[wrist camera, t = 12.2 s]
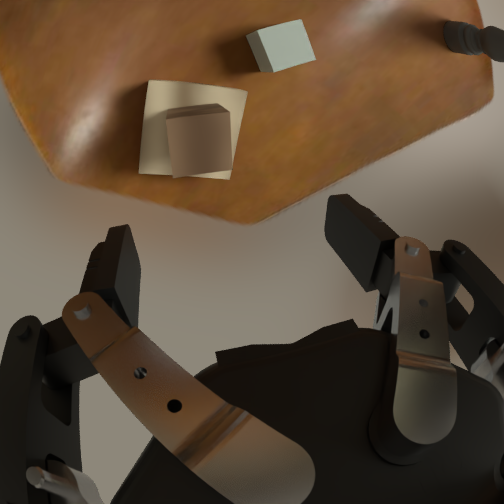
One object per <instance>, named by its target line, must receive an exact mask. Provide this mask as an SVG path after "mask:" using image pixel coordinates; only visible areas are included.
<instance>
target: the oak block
mask: <svg viewBox="0 0 504 504" xmlns="http://www.w3.org/2000/svg"><path fill="white" fill-rule="evenodd" d="M247 93H248V91H244V90H240V89H236V88H230V87H223V86H216V85H209V84H200V83H191V82H181V81H169V80H153V79H152V80H149V83H148V89H147V96H146V103H145V111H144V119H143V128H142V138H141V149H140V162H139V174H161V175H173V174H172V167H171V159H170V151H169V143H168V134H167V125H166V116H167V111H168V109H171V108H178V107H186V106H194V105H203V104H213V103H218V104H220V105H221V106H223V107H224V108H225V109H227V110H228V111H229V112H230V121H231V144H232V165H233V159H234V154H235V149H236V145H237V140H238V135H239V130H240V125H241V120H242V116H243V111H244V106H245V102H246V97H247ZM230 175H231V170H228V171H220V172H212V173H205V174H198V175H191V176H193V177H207V178H218V179H230Z"/></svg>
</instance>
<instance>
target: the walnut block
mask: <svg viewBox="0 0 504 504" xmlns="http://www.w3.org/2000/svg"><path fill="white" fill-rule="evenodd" d="M166 125H167V134H168V143H169V151H170V159H171V167H172V174H173V178H177V177H184V176H191V175H198V174H205V173H212V172H220V171H228V170H233V165H232V144H231V121H230V112H229V111H228V110H227V109H225V108H224V107H223V106H221V105H220V104H218V103H213V104H203V105H194V106H186V107H178V108H171V109H168V111H167V116H166Z"/></svg>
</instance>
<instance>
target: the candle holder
mask: <svg viewBox="0 0 504 504" xmlns="http://www.w3.org/2000/svg"><path fill="white" fill-rule="evenodd" d="M443 33H444V39H445V41H446V44H447V46H448V47H449V48H450V50H452V51H453V52H456V53H461V54H466V55H473V54H474V55H480V54H481V53H484V54H487V55H488V56H489V57H490V58H491V59H493V60H494V61H498V62H504V30H501V29H499V28H497V27H494V26H488V27H486V28H484V29H480V30H479V29H478V28H477V27H476V26H475V25H472V24H468V23H465V22H456V21H448V22H446V24H445V26H444V32H443Z"/></svg>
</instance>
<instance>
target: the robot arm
mask: <svg viewBox="0 0 504 504" xmlns="http://www.w3.org/2000/svg"><path fill="white" fill-rule="evenodd" d="M325 237H326V240H327V241H328V243H329V244H330V246H331V247H332V248H333V249H334V251H335V252H336V253H337V254H338V256H339V257H340V258H341V260H342V261H343V262H344V263H345V265H346V266H347V267H348V269H349V270H350V271H351V273H352V274H353V275H354V277H355V278H356V279H357V281H358V282H359V283H360V285H361V286H362V287H363V288H364V290H365V291H366V292H369V291H373V290H376V289H378V290H379V293H378V296H377V302H376V310H375V317H374V324H373V329H370V328H358V327H357V325H356V323H355V322H354V320H353V319H350V320H347V321H344V322H340V323H336V324H333V325H330V326H326V327H323V328H321V329H319V330H317V331H315V332H313V333H312V334H310V335H308V336H306V337H304V338H302V339H300V340H298V341H297V342H294V343H291V344H268V345H267V344H262V345H261V344H260V345H257V344H256V345H248V346H243V347H238V348H233V349H228V350H222V351H217V352H215V353H216V358H217V363H215V364H212V365H210V366H209V367H207V368H205V369H203V370H202V371H200V372H199V373H198V374H196V375H195V376H194V377H193V376H192V375H190V374H189V373H188V372H187V371H186V370H184V369H183V368H182V367H181V366H180V365H179V364H177V363H176V362H175V361H174V360H173V359H172V358H170V357H169V356H168V355H167V354H166V353H164V351H162V350H161V349H160V348H159V347H158V346H157V345H156V344H155V343H154V342H153V341H151V340H150V339H149V338H148V337H147V336H146V335H145V334H144V333H143V332H142V331H141V330H140V329H138V312H139V292H140V278H141V268H140V261H139V257H138V253H137V250H136V247H135V243H134V240H133V236H132V233H131V229H130V227H129V225H128V224H126V225H121V226H116V227H111V228H109V231H108V234H107V237H106V240H105V242H100V243H98V245H97V246H96V247H95V248H94V249H93V251H92V252H91V255H90V258H89V262H88V265H87V270H86V271H85V275H84V278H83V281H82V285H81V288H80V292H79V294H78V295H76V296H74V297H73V298H71V299H70V300H69V301H68V302H67V303H66V305H65V306H64V308H63V311H62V317H60V318H58V319H55V320H53V321H51V322H48V323H46V324H44V325H42V323H41V322H40V320H39V319H38V318H37V317H35V316H31V315H30V316H25V317H23V318H21V319H19V320H18V321H17V322H16V323H15V324H14V325H13V326H12V327H11V329H10V331H9V334H8V337H7V340H6V345H5V348H4V352H3V356H2V360H1V364H0V504H104V503H103V501H102V500H101V498H100V496H99V493H98V489H97V487H96V485H95V483H94V482H93V480H92V479H91V478H90V477H88V476H87V475H86V474H84V473H82V462H81V450H80V433H79V432H80V431H79V386H80V381H81V380H83V379H86V378H88V377H90V376H93V375H95V374H98V373H100V375H101V376H102V377H103V379H104V380H105V381H106V382H107V384H108V385H109V386H110V387H111V389H112V390H113V391H114V392H115V394H116V395H117V396H118V397H119V398H120V400H121V401H122V402H123V403H124V404H125V405H126V406H127V408H128V409H129V410H130V411H131V412H132V413H133V414H134V415H135V416H136V418H137V419H138V420H139V421H140V422H141V423H142V424H143V425H144V426H145V427H146V428H147V429H148V430H149V431H150V432H151V433H152V434H153V437H152V438H151V440H150V441H149V443H148V444H147V446H146V448H145V449H144V451H143V452H142V454H141V456H140V457H139V459H138V460H137V462H136V463H135V465H134V467H133V468H132V470H131V471H130V473H129V474H128V476H127V477H126V479H125V480H124V482H123V484H122V485H121V487H120V488H119V490H118V491H117V493H116V495H115V496H114V498H113V499H112V501H111V503H110V504H504V284H503V283H502V282H501V281H500V280H499V279H498V278H497V277H496V276H495V274H493V272H492V271H491V270H490V269H489V268H488V267H487V266H486V265H485V264H484V263H483V262H482V261H481V260H480V259H479V258H478V257H477V256H476V255H475V254H474V253H473V252H472V251H471V250H470V249H469V248H468V247H467V246H466V245H464V244H463V243H461V242H458V241H455V240H446V241H445V242H444V244H443V247H442V249H441V251H430V250H429V249H428V247H427V246H426V245H425V244H424V243H423V242H421V241H420V240H418V239H415V238H412V237H406V236H404V237H400V236H399V235H397V234H396V233H395V232H394V231H393V230H392V229H391V228H390V227H389V226H388V225H386V223H385V222H382V220H381V219H380V218H379V217H377V216H376V214H375V213H373V212H372V211H371V210H370V209H368V208H366V207H364V206H362V205H360V204H359V203H358V202H357V201H355V200H354V199H353V198H352V197H351V196H350V195H348V194H340V195H331V196H330V197H329V198H328V203H327V212H326V220H325ZM460 284H462V285H463V286H464V287H465V288H466V290H467V291H468V292H469V293H470V294H471V296H472V297H473V300H474V308H473V310H472V312H471V313H470V315H469V314H468V312H467V311H466V310H465V309H464V307H463V306H462V305H461V304H460V302H459V301H458V300H457V298H456V297H455V294H456V292H457V290H458V288H459V286H460ZM449 341H450V343H451V344H452V346H453V347H454V349H455V350H456V352H457V353H458V355H459V356H460V358H461V359H462V361H463V363H464V364H465V366H466V367H467V369H468V371H467V370H465V369H463V368H460V367H458V366H456V365H454V364H452V363H451V362H450V347H449Z"/></svg>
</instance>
